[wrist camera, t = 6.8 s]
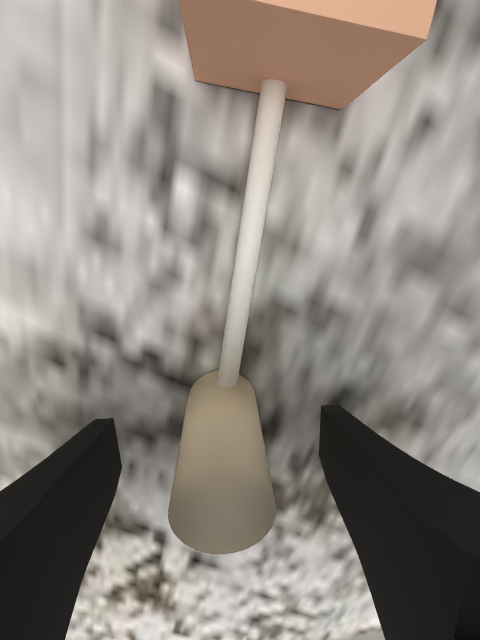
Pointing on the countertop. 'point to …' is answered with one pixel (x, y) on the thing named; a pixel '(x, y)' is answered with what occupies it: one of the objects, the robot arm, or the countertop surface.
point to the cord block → (274, 86)
